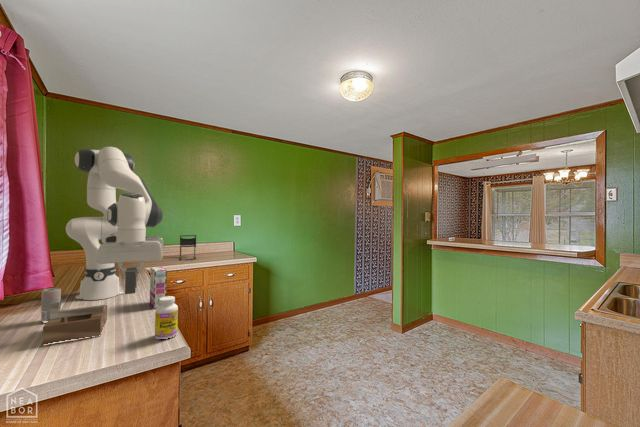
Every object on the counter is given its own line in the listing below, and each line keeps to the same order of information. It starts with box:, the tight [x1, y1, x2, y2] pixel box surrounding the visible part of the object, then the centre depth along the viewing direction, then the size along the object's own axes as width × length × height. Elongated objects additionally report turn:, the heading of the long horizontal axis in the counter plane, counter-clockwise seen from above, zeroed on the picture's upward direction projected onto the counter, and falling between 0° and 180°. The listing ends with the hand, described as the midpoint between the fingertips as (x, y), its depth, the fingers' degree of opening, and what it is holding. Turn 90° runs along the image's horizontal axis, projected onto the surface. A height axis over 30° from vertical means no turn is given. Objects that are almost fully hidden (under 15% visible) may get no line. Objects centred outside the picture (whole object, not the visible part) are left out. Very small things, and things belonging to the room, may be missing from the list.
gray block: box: [124, 265, 138, 295], centre depth 104 cm, size 10×3×8 cm, turn 31°
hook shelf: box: [42, 302, 108, 345], centre depth 96 cm, size 16×14×11 cm
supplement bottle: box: [154, 295, 179, 340], centre depth 94 cm, size 7×7×13 cm
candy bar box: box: [149, 266, 168, 309], centre depth 125 cm, size 11×5×16 cm, turn 40°
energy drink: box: [40, 287, 62, 322], centre depth 105 cm, size 5×5×12 cm
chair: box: [179, 234, 197, 261], centre depth 249 cm, size 13×17×22 cm
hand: (131, 273), depth 104 cm, fingers closed on gray block, 3 cm apart
